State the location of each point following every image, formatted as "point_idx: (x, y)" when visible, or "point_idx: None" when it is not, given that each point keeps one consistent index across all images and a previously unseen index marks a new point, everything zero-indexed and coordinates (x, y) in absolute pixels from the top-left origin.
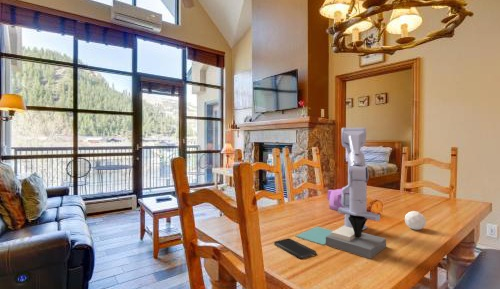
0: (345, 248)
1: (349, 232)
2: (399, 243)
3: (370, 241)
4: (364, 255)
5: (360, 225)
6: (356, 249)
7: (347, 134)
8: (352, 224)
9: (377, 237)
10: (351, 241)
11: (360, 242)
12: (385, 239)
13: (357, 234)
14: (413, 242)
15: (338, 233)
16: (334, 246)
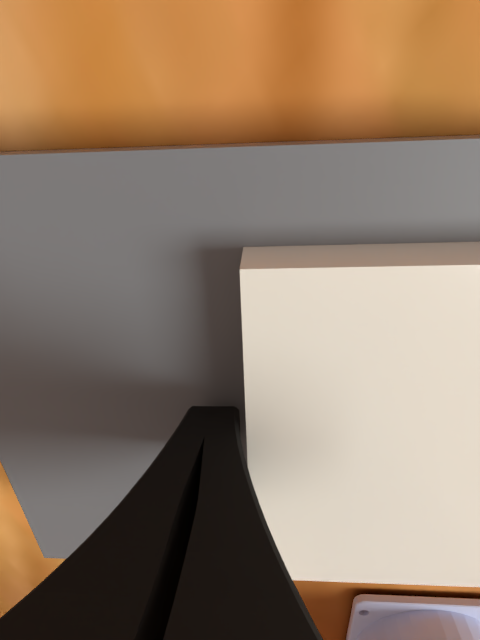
0: (263, 143)
1: (333, 446)
2: None
3: (71, 419)
4: (19, 151)
5: (33, 590)
6: (98, 149)
7: None
8: (256, 577)
9: None
10: (218, 263)
11: (117, 315)
12: (44, 542)
13: (190, 430)
14: None
15: (476, 296)
16: (427, 137)
